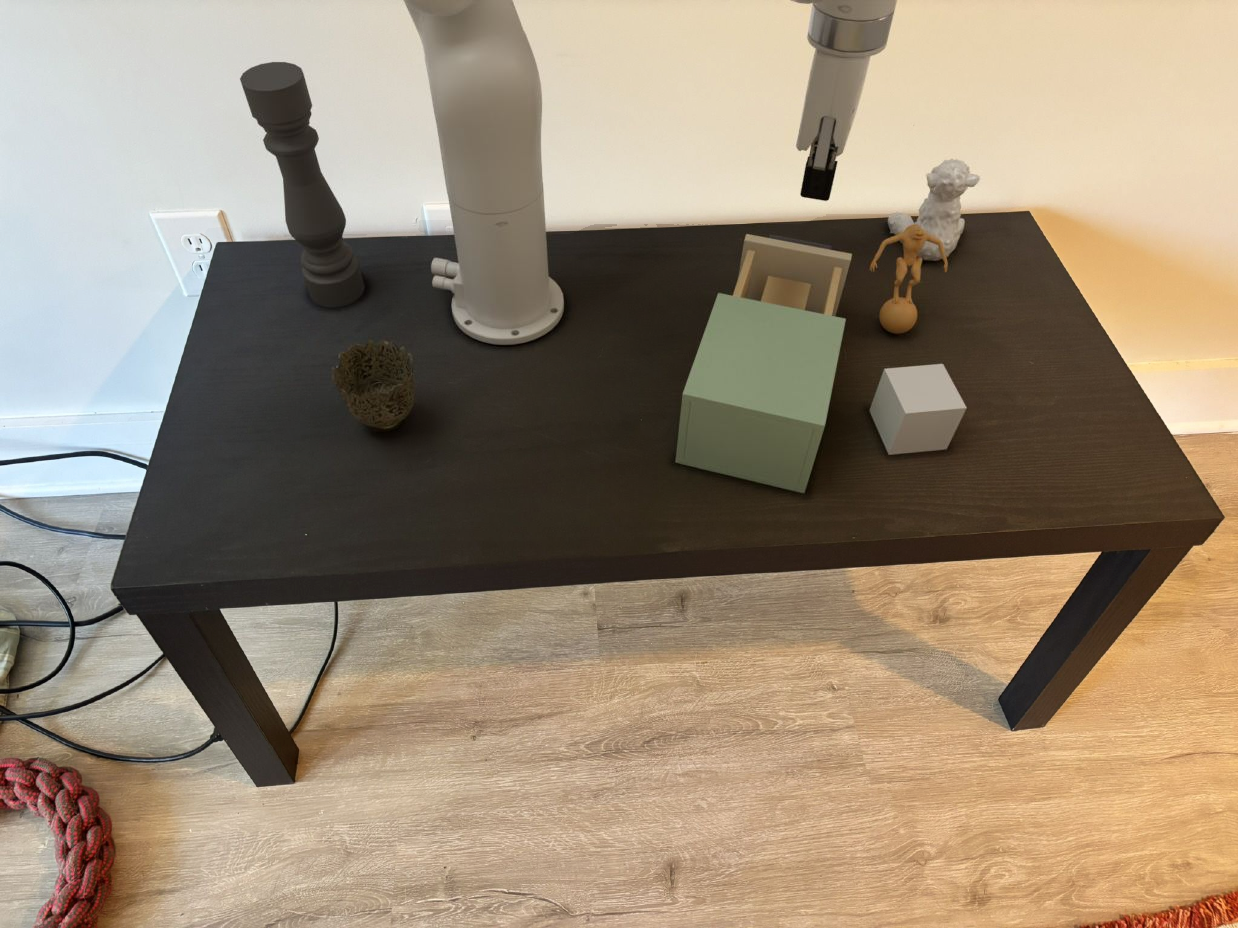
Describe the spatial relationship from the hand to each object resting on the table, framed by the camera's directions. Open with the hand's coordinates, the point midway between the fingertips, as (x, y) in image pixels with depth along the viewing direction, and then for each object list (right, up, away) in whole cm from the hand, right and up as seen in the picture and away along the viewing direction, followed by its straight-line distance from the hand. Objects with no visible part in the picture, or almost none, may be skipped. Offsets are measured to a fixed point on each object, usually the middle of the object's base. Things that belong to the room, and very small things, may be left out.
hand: (815, 194), depth 94 cm
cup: (-45, -26, -9) cm, 53 cm away
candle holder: (-54, -10, +4) cm, 55 cm away
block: (-4, -15, -2) cm, 16 cm away
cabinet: (-8, -26, -9) cm, 29 cm away
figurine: (+9, -14, +2) cm, 17 cm away
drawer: (-4, -15, 0) cm, 15 cm away
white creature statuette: (+16, -3, +11) cm, 20 cm away
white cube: (+7, -27, -9) cm, 29 cm away
